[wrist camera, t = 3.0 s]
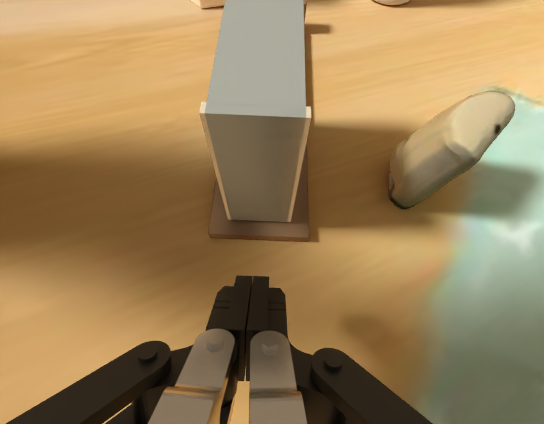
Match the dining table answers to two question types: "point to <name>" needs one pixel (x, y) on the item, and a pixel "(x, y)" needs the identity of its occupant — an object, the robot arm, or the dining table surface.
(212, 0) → the jar
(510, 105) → the beige rounded block
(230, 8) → the grey square block
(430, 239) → the dining table surface
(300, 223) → the rail
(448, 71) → the dining table surface
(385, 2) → the supplement bottle
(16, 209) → the dining table surface
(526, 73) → the dining table surface
